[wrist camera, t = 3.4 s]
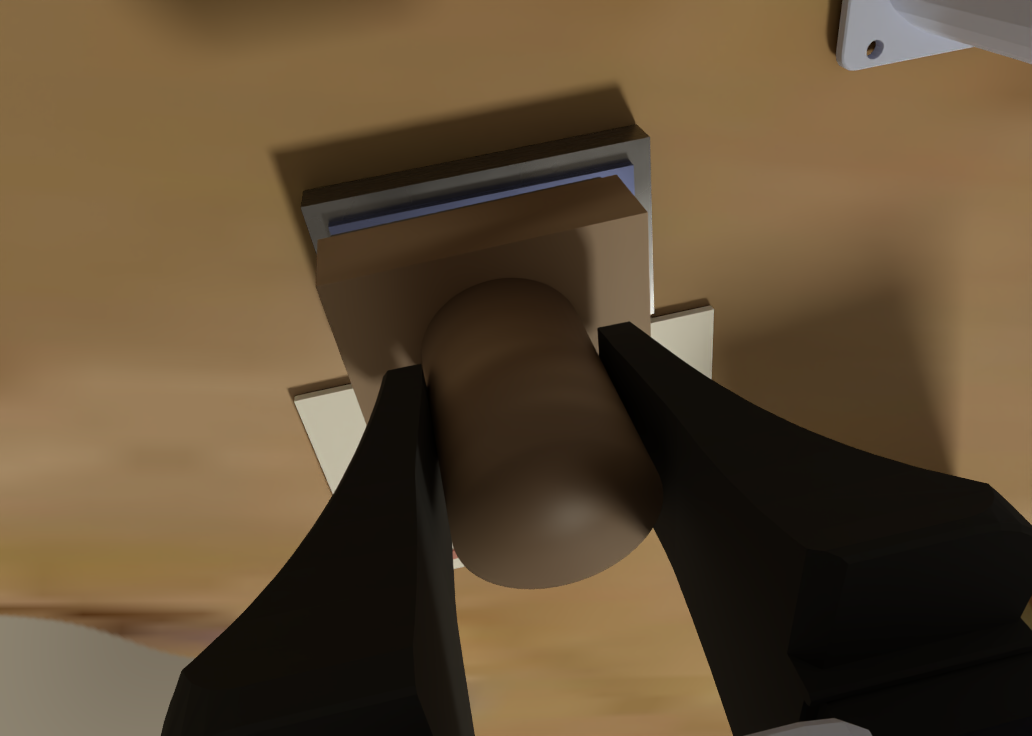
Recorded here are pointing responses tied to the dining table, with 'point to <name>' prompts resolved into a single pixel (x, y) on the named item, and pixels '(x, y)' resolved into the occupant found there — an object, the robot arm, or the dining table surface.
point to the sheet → (342, 425)
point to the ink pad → (484, 183)
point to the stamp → (511, 368)
